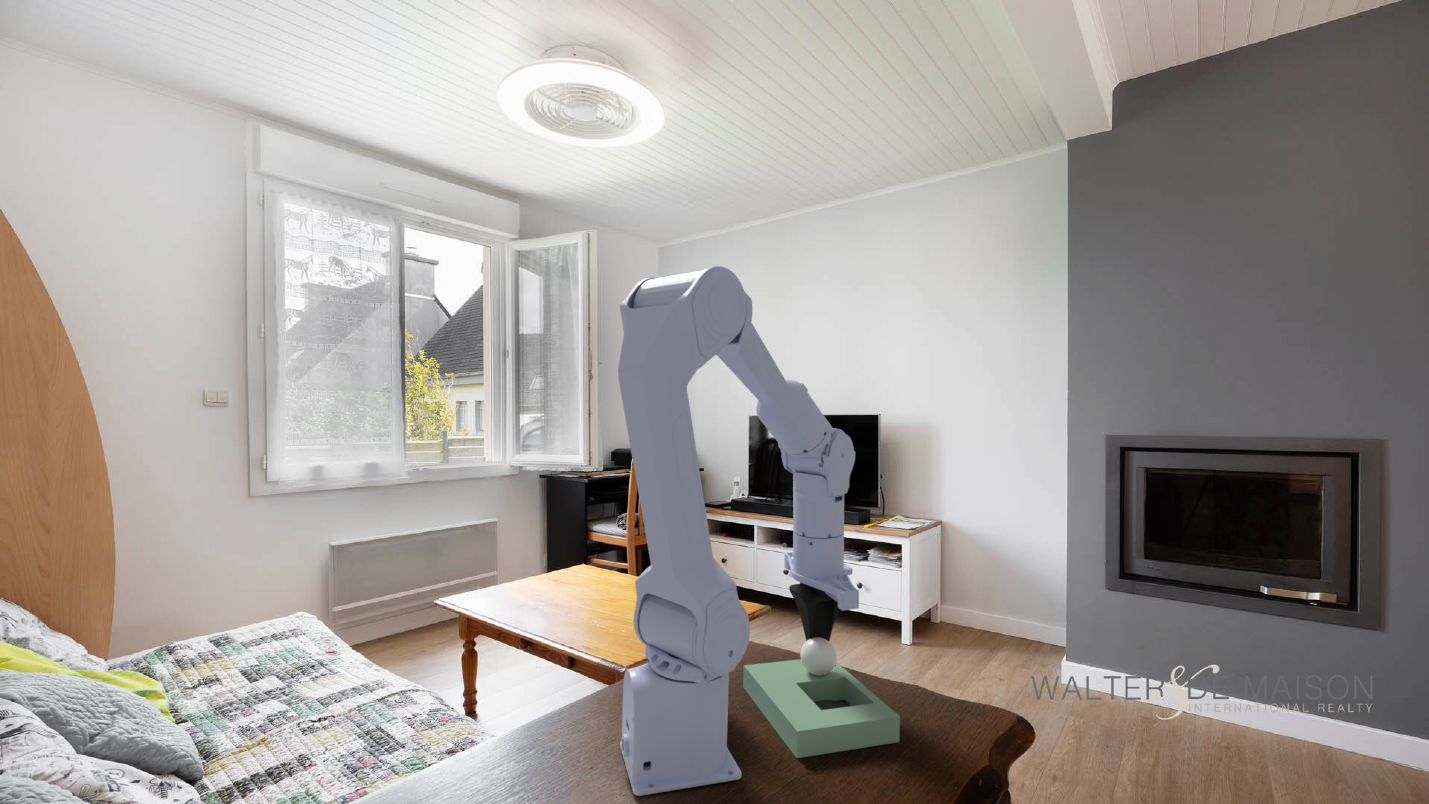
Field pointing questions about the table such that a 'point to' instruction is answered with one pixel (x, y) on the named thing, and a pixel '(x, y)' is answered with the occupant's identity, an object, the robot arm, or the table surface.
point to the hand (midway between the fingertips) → (818, 648)
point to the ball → (818, 656)
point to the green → (819, 708)
